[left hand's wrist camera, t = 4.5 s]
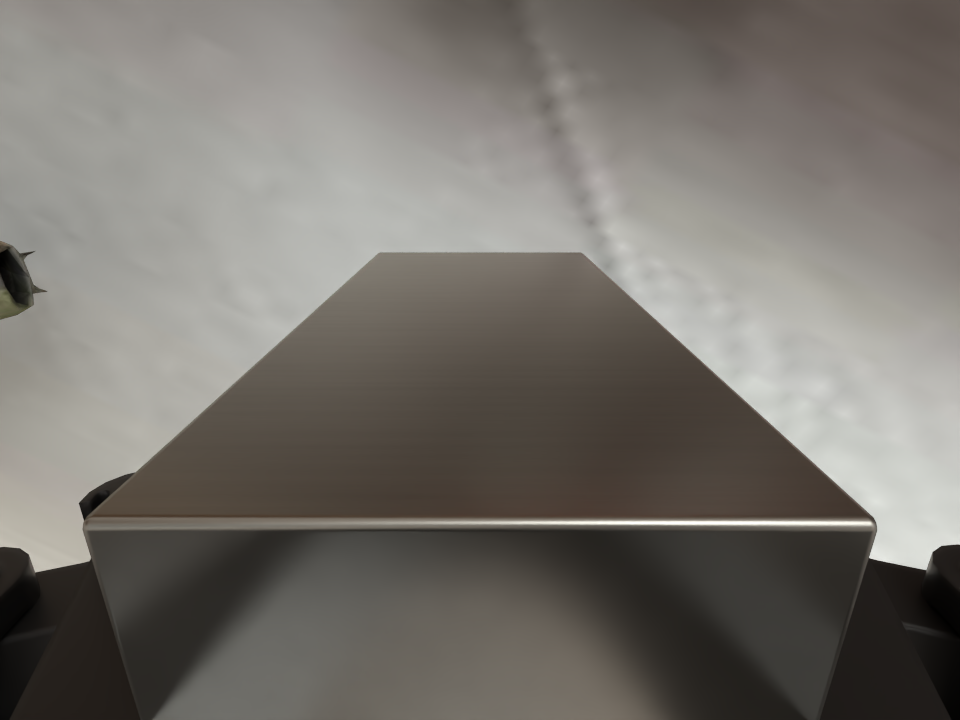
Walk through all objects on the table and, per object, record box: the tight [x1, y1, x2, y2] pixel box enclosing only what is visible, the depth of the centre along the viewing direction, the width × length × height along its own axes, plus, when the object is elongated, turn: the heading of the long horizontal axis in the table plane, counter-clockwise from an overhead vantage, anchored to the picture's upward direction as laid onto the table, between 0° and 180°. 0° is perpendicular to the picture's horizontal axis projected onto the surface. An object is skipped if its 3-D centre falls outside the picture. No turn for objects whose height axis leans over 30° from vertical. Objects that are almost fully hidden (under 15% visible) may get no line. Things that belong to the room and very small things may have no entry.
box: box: [83, 253, 877, 720], centre depth 14 cm, size 20×6×13 cm, turn 0°
